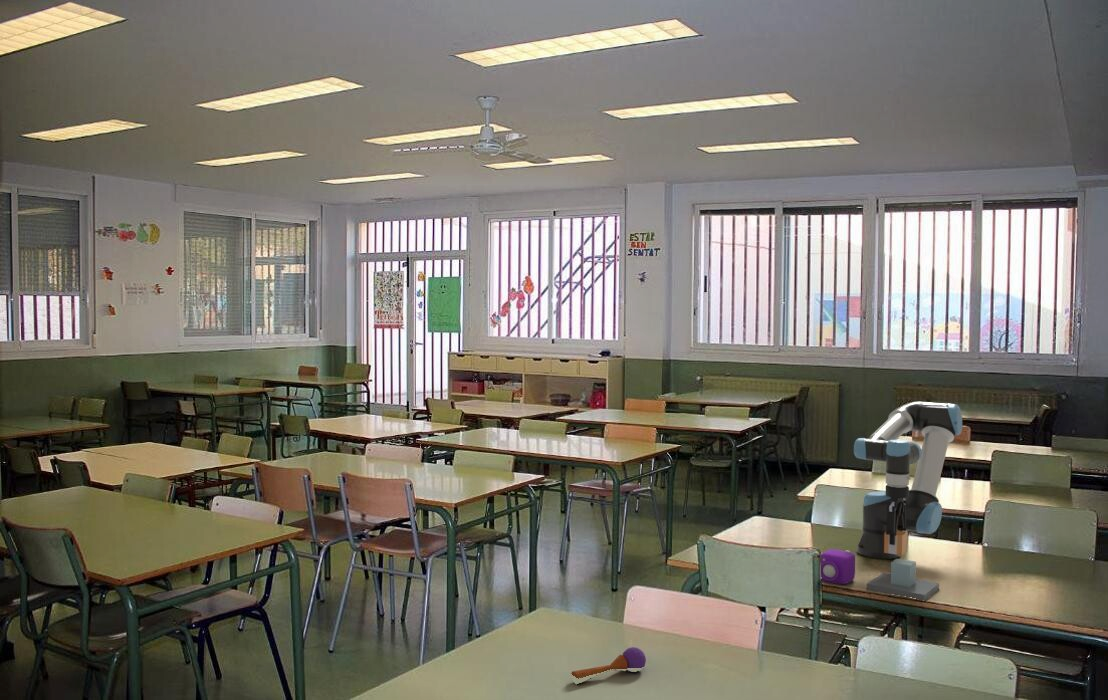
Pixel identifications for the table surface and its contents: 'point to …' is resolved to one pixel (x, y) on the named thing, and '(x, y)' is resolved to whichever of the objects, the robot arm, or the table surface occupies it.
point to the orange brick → (898, 542)
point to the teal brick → (903, 572)
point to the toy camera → (838, 566)
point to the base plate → (903, 587)
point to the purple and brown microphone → (617, 663)
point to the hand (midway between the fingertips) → (895, 551)
